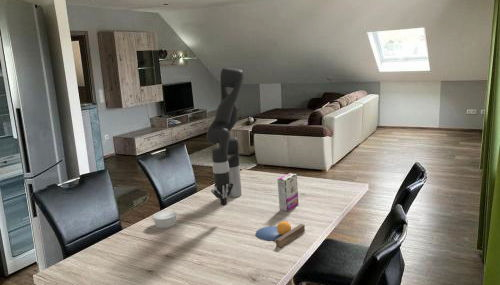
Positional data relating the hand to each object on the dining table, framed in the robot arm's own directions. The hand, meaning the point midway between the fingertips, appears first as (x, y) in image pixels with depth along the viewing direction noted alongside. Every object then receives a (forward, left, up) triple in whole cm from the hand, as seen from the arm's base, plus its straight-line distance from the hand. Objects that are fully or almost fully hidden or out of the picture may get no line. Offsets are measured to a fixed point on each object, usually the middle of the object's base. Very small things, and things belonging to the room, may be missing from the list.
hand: (223, 205), depth 186 cm
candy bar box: (+17, +29, -8) cm, 35 cm away
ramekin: (-21, -19, -8) cm, 29 cm away
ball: (+33, +2, -5) cm, 34 cm away
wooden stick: (+38, 0, -8) cm, 39 cm away
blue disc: (+28, 0, -8) cm, 29 cm away
